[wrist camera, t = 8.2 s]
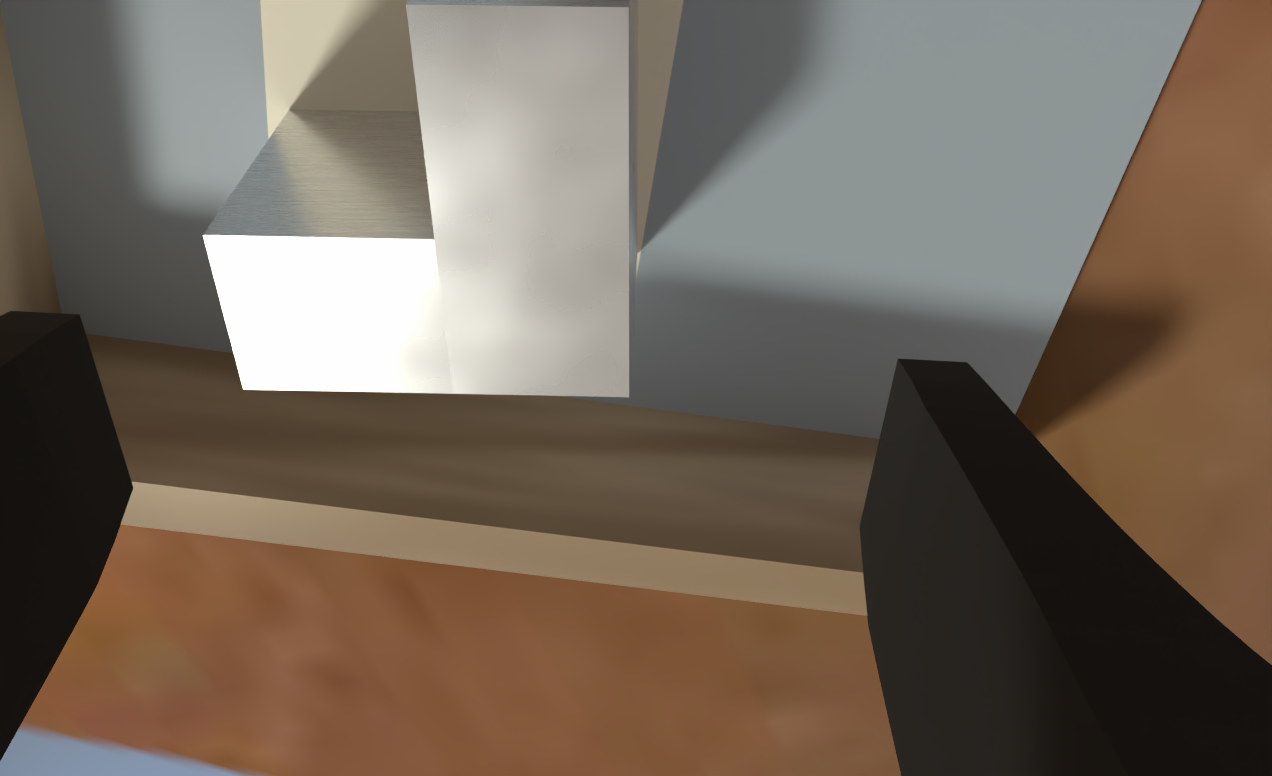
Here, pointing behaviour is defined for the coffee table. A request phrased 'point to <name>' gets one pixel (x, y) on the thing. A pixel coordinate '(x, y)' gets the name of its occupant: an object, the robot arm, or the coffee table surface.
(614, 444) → the walls
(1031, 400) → the coffee table surface
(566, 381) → the bracket
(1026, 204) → the board
